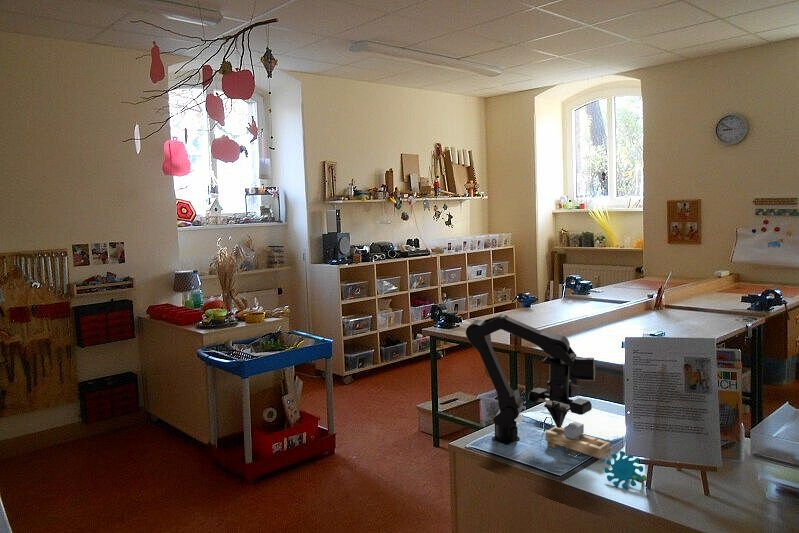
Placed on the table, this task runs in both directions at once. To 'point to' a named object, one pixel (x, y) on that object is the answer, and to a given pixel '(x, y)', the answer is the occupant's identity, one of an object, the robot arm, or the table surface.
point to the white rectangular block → (574, 430)
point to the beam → (577, 443)
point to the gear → (624, 470)
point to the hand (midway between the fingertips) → (559, 427)
